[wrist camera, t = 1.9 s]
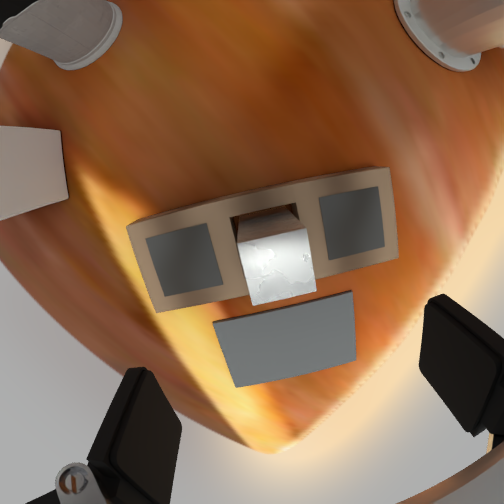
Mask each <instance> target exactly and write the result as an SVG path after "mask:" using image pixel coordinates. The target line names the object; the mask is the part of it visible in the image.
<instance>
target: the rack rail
mask: <svg viewBox="0 0 504 504" xmlns="http://www.w3.org/2000/svg"><path fill="white" fill-rule="evenodd" d="M290 203H291V205H292V210H293V215H294V216H295V217H296V218H297V219H298V220H299V221H300V222H301V223H302V224H303V225H304V226H305V227H306V229H307V234H308V240H309V246H310V252H311V258H312V264H313V270H314V276H315V279H319V278H323V277H327V276H331V275H335V274H339V273H343V272H347V271H351V270H355V269H359V268H363V267H367V266H370V265H374V264H378V263H382V262H385V261H389V260H392V259H396V258H399V255H398V238H397V225H396V215H395V205H394V197H393V189H392V181H391V175H390V168H389V167H377V166H373V167H367V168H361V169H355V170H349V171H343V172H337V173H331V174H326V175H321V176H315V177H310V178H305V179H300V180H295V181H290V182H285V183H280V184H276V185H271V186H266V187H262V188H257V189H253V190H249V191H244V192H240V193H236V194H231V195H227V196H223V197H219V198H215V199H211V200H207V201H203V202H199V203H195V204H192V205H188V206H184V207H180V208H177V209H173V210H169V211H166V212H162V213H159V214H155V215H152V216H148V217H145V218H141V219H138V220H136V221H135V222H133V223H131V224H129V225H127V226H126V229H127V232H128V235H129V238H130V241H131V245H132V248H133V251H134V254H135V257H136V260H137V263H138V266H139V268H140V271H141V274H142V277H143V280H144V282H145V285H146V288H147V291H148V293H149V296H150V298H151V301H152V304H153V306H154V309H155V311H156V313H159V312H165V311H170V310H175V309H181V308H186V307H191V306H196V305H201V304H206V303H211V302H216V301H221V300H226V299H231V298H236V297H240V296H245V295H250V293H249V289H248V285H247V281H246V277H245V273H244V269H243V266H242V262H241V258H240V254H239V250H238V246H237V238H238V237H237V233H236V229H235V225H234V221H233V216H237V215H241V214H246V213H250V212H254V211H259V210H263V209H268V208H272V207H277V206H281V205H286V204H290Z"/></svg>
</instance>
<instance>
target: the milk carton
mask: <svg viewBox="0 0 504 504" xmlns="http://www.w3.org/2000/svg"><path fill="white" fill-rule="evenodd" d="M68 198H69V197H68V191H67V185H66V178H65V171H64V163H63V155H62V145H61V133H60V131H59V130H50V129H40V128H28V127H13V126H0V221H1V220H4V219H7V218H9V217H12V216H15V215H19V214H22V213H25V212H28V211H31V210H34V209H37V208H40V207H43V206H46V205H49V204H52V203H56V202H59V201H62V200H65V199H68Z"/></svg>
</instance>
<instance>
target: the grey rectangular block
mask: <svg viewBox="0 0 504 504" xmlns="http://www.w3.org/2000/svg"><path fill="white" fill-rule="evenodd" d="M237 246H238V250H239V254H240V258H241V262H242V266H243V269H244V273H245V277H246V281H247V285H248V289H249V293H250V297H251V301H252V304H253V306H254V305H258V304H263V303H268V302H272V301H277V300H281V299H285V298H290V297H294V296H298V295H302V294H307V293H311V292H315V291H317V289H316V282H315V276H314V270H313V264H312V258H311V252H310V246H309V240H308V234H307V229H306V227H305V226H304V225H303V224H302V223H301V222H300V221H299V220H298V219H297V218H296V217H295V216H294V215H293V214H292V213H291V212H290V211H289V210H288V209H287V208H286V207H285V206H282V207H278V208H273V209H269V210H264V211H260V212H256V213H251V214H247V215H242V216H239V226H238V238H237Z"/></svg>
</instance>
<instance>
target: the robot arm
mask: <svg viewBox="0 0 504 504" xmlns="http://www.w3.org/2000/svg"><path fill="white" fill-rule="evenodd" d="M394 5H395V9H396V12H397V15H398V17H399V20H400V21H401V23H402V25H403V27H404V29H405V30H406V31H407V33H408V34H409V36H410V37H411V38H412V40H413V41H414V42H415V43H416V44H417V45H418V47H419V48H420V49H421V50H422V51H423V52H424V53H425V54H427V55H428V56H429V57H430V58H431V59H433V60H434V61H435V62H437V63H438V64H440V65H441V66H443V67H445V68H447V69H449V70H452V71H456V72H465V71H469V70H472V69H474V68H475V67H476V66H477V65H478V64H479V61H480V59H481V52H483V51H486V50H489V49H492V48H496V47H500V48H504V0H394ZM419 369H420V371H421V373H422V374H423V376H424V377H425V378H426V379H427V381H428V382H429V383H430V384H431V386H432V387H433V388H434V390H435V391H436V392H437V394H438V395H439V396H440V398H441V399H442V400H443V402H444V403H445V404H446V406H447V407H448V408H449V409H450V411H451V412H452V414H453V415H454V416H455V418H456V419H457V421H458V422H459V423H460V425H461V426H462V428H463V429H464V430H465V431H466V432H470V433H471V434H472V436H473V437H475V436H476V435H478V434H479V433H481V432H482V431H484V430H485V429H487V430H488V431H489V438H488V445H487V452H486V455H484V456H483V457H481V458H480V459H478V460H477V461H475V462H474V463H473V464H471V465H469V466H468V467H466V468H465V469H463V470H461V471H460V472H458V473H456V474H455V475H453V476H451V477H450V478H448V479H446V480H444V481H442V482H441V483H439V484H437V485H435V486H433V487H431V488H429V489H427V490H425V491H423V492H421V493H419V494H417V495H415V496H413V497H410V498H408V499H406V500H404V501H401V502H399V503H397V504H504V339H503V338H502V337H501V336H500V335H498V334H497V333H496V332H495V331H493V330H492V329H491V328H489V327H488V326H487V325H486V324H485V323H483V322H482V321H481V320H479V319H478V318H477V317H475V316H474V315H472V314H471V313H470V312H469V311H467V310H466V309H465V308H463V307H462V306H461V305H459V304H458V303H457V302H455V301H454V300H452V299H451V298H450V297H448V296H447V295H445V294H440V295H438V296H435V297H433V298H430V299H429V300H428V303H427V304H426V305H425V308H424V322H423V333H422V343H421V352H420V360H419ZM181 432H182V425H181V422H180V420H179V418H178V417H177V415H176V413H175V412H174V410H173V408H172V407H171V405H170V403H169V402H168V400H167V398H166V396H165V395H164V393H163V391H162V389H161V387H160V386H159V384H158V382H157V380H156V378H155V376H154V374H153V373H152V372H151V371H148V370H147V369H146V368H145V367H137V368H129V369H128V370H127V371H126V373H125V375H124V377H123V379H122V382H121V384H120V386H119V388H118V390H117V392H116V394H115V396H114V398H113V400H112V403H111V405H110V407H109V409H108V411H107V413H106V416H105V418H104V420H103V422H102V424H101V427H100V429H99V431H98V434H97V436H96V438H95V440H94V443H93V445H92V447H91V450H90V452H89V454H88V457H87V460H88V461H89V462H88V465H87V466H86V465H85V464H82V463H71V464H68V465H66V466H65V467H63V468H62V469H61V470H60V471H59V473H58V474H57V476H56V480H55V486H56V489H55V490H53V491H51V492H49V493H47V494H45V495H43V496H41V497H39V498H36V499H34V500H32V501H30V502H27V503H26V504H170V498H171V492H172V486H173V479H174V473H175V467H176V461H177V454H178V449H179V444H180V437H181Z"/></svg>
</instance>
